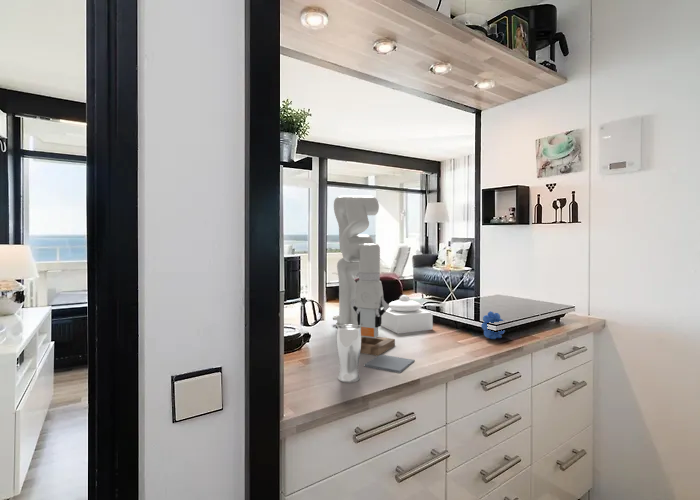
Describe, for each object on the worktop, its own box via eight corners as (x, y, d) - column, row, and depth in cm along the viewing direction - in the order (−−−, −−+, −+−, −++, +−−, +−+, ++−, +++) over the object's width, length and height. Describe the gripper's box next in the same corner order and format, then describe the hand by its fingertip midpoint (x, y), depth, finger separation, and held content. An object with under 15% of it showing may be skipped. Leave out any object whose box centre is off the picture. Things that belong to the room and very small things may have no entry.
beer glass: (341, 373, 110) (341, 323, 109) (363, 376, 108) (363, 324, 107) (333, 382, 103) (333, 328, 103) (357, 384, 101) (357, 330, 101)
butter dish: (432, 332, 162) (432, 296, 162) (396, 336, 156) (396, 298, 155) (412, 324, 178) (412, 291, 178) (378, 327, 172) (378, 293, 172)
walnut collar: (343, 350, 133) (343, 342, 133) (362, 342, 145) (362, 334, 145) (378, 356, 126) (378, 348, 126) (394, 347, 138) (394, 339, 138)
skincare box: (359, 337, 135) (359, 304, 135) (363, 334, 139) (363, 302, 139) (375, 338, 133) (375, 305, 133) (378, 335, 137) (379, 303, 137)
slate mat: (364, 367, 115) (364, 364, 115) (381, 357, 126) (381, 354, 126) (399, 374, 109) (399, 370, 109) (414, 362, 120) (414, 359, 119)
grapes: (490, 345, 140) (490, 314, 140) (477, 341, 146) (477, 311, 146) (512, 342, 145) (512, 311, 145) (499, 338, 151) (499, 309, 151)
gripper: (344, 276, 137) (343, 324, 137) (386, 279, 128) (386, 330, 129) (354, 275, 143) (353, 320, 144) (395, 277, 134) (394, 326, 135)
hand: (369, 325), depth 136 cm, fingers closed on skincare box, 6 cm apart
